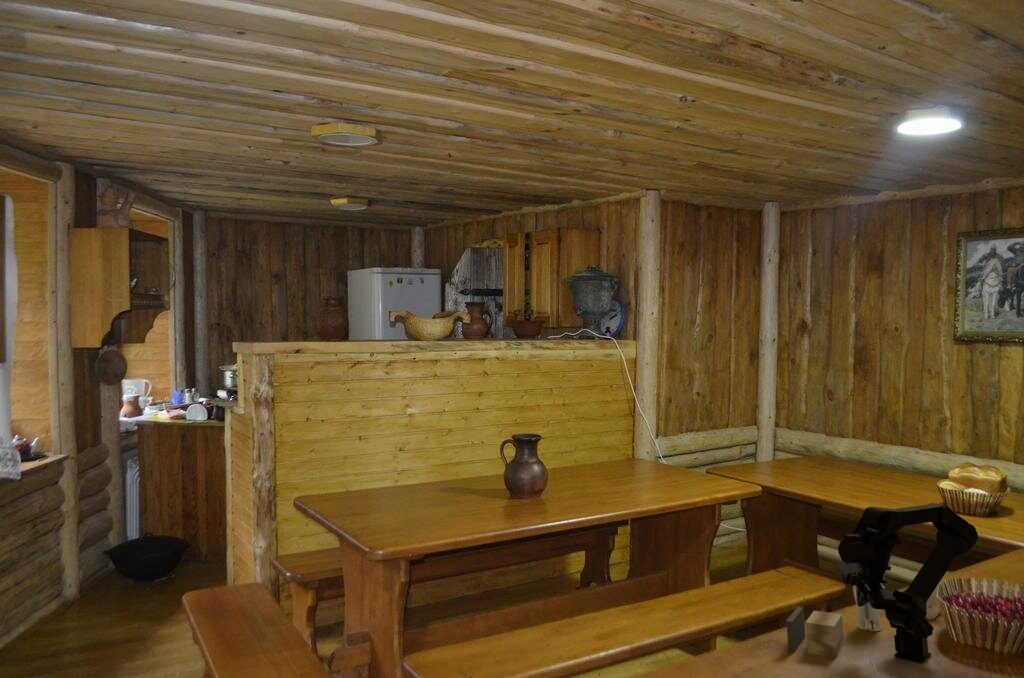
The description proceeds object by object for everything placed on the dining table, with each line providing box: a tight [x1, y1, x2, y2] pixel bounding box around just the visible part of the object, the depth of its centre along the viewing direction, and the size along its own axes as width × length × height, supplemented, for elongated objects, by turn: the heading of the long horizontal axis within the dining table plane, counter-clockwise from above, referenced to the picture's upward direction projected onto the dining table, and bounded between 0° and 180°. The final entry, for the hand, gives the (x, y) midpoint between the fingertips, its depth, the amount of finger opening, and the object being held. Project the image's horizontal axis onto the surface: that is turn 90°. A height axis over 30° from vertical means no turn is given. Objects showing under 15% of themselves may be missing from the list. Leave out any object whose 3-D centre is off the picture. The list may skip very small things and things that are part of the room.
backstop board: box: [785, 606, 807, 654], centre depth 200 cm, size 2×12×8 cm, turn 145°
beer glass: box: [852, 585, 883, 633], centre depth 208 cm, size 7×7×15 cm
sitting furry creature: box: [925, 589, 941, 621], centre depth 216 cm, size 10×9×12 cm
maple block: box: [805, 610, 845, 659], centre depth 196 cm, size 7×10×8 cm
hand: (859, 605), depth 193 cm, fingers closed
